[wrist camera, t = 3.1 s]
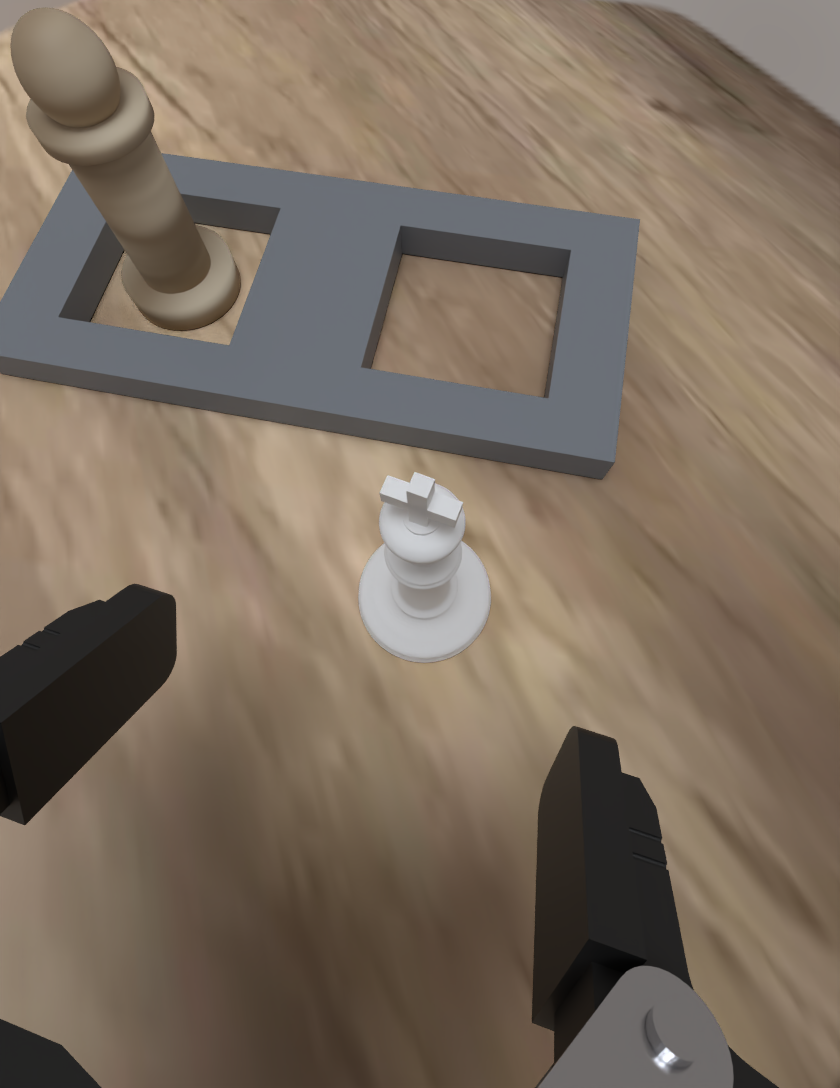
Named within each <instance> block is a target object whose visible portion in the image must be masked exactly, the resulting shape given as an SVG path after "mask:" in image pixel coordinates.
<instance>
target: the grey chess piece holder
mask: <svg viewBox="0 0 840 1088" xmlns="http://www.w3.org/2000/svg"><path fill="white" fill-rule="evenodd" d="M161 154H162V156H163V158H164V160H165V162H166V165H167V167H168V169H169V171H170V173H171V175H172V177H173V179H174V181H175V184H176V186H177V188H178V190H179V192H180V194H181V196H182V198H183V200H184V202H185V205H186V207H187V209H188V211H189V213H190V215H191V217H192V219H193V221H194V223H200V224H207V225H214V226H220V227H227V228H234V229H241V230H247V231H254V232H261V233H268V234H271V235H270V238H269V241H268V243H267V246H266V249H265V252H264V254H263V257H262V260H261V262H260V265H259V268H258V270H257V273H256V276H255V278H254V281H253V284H252V286H251V289H250V292H249V294H248V297H247V300H246V302H245V305H244V308H243V310H242V313H241V316H240V318H239V321H238V324H237V326H236V329H235V332H234V334H233V337H232V340H231V342H230V345H223V344H217V343H211V342H205V341H199V340H193V339H187V338H181V337H175V336H169V335H163V334H157V333H151V332H145V331H139V330H133V329H127V328H120V327H114V326H108V325H102V324H96V323H90V320H91V318H92V316H93V314H94V312H95V309H96V307H97V305H98V303H99V301H100V299H101V297H102V295H103V293H104V291H105V289H106V286H107V284H108V282H109V280H110V278H111V276H112V274H113V272H114V270H115V268H116V265H117V263H118V261H119V259H120V257H121V255H122V253H123V251H124V248H123V247H122V245H121V244H120V242H119V241H118V239H117V238H116V236H115V234H114V233H113V231H112V230H111V228H110V227H109V225H108V224H107V222H106V221H105V219H104V218H103V216H102V215H101V213H100V211H99V210H98V208H97V207H96V205H95V204H94V202H93V201H92V199H91V198H90V196H89V195H88V193H87V191H86V190H85V188H84V187H83V185H82V184H81V182H80V181H79V179H78V178H77V176H76V175H75V173H74V171H73V170H72V172H71V173H70V175H69V177H68V179H67V181H66V183H65V184H64V186H63V188H62V190H61V192H60V194H59V195H58V197H57V199H56V201H55V203H54V205H53V206H52V208H51V210H50V212H49V214H48V216H47V217H46V219H45V221H44V223H43V225H42V226H41V228H40V230H39V232H38V234H37V236H36V237H35V239H34V241H33V243H32V245H31V247H30V248H29V250H28V252H27V254H26V256H25V258H24V259H23V261H22V263H21V265H20V267H19V269H18V270H17V272H16V274H15V276H14V278H13V280H12V281H11V283H10V285H9V287H8V289H7V291H6V292H5V294H4V296H3V298H2V300H1V302H0V373H1V374H6V375H12V376H18V377H23V378H29V379H35V380H40V381H46V382H52V383H57V384H63V385H69V386H74V387H80V388H86V389H91V390H97V391H103V392H108V393H114V394H120V395H125V396H131V397H137V398H142V399H148V400H154V401H159V402H165V403H171V404H177V405H182V406H188V407H194V408H199V409H205V410H211V411H216V412H222V413H228V414H233V415H239V416H245V417H250V418H256V419H262V420H267V421H273V422H279V423H284V424H290V425H296V426H301V427H307V428H313V429H318V430H324V431H330V432H335V433H341V434H347V435H352V436H358V437H364V438H370V439H375V440H381V441H387V442H392V443H398V444H404V445H409V446H415V447H421V448H426V449H432V450H438V451H443V452H449V453H455V454H460V455H466V456H472V457H477V458H483V459H489V460H494V461H500V462H506V463H511V464H517V465H523V466H528V467H534V468H540V469H546V470H551V471H557V472H563V473H568V474H574V475H580V476H585V477H591V478H597V479H603V478H604V476H605V475H606V474H607V472H608V471H609V470H610V468H611V467H612V465H613V464H614V463H615V455H616V445H617V435H618V426H619V416H620V406H621V397H622V387H623V377H624V368H625V358H626V348H627V339H628V329H629V319H630V310H631V300H632V290H633V281H634V271H635V261H636V252H637V242H638V232H639V223H640V219H632V218H625V217H618V216H611V215H604V214H596V213H589V212H582V211H575V210H567V209H560V208H553V207H546V206H539V205H531V204H524V203H517V202H510V201H502V200H495V199H488V198H481V197H474V196H466V195H459V194H452V193H445V192H437V191H430V190H423V189H416V188H409V187H401V186H394V185H387V184H380V183H372V182H365V181H358V180H351V179H344V178H336V177H329V176H322V175H315V174H307V173H300V172H293V171H286V170H278V169H271V168H264V167H257V166H250V165H242V164H235V163H228V162H221V161H213V160H206V159H199V158H192V157H185V156H177V155H170V154H163V153H161ZM402 253H403V254H409V255H416V256H423V257H430V258H436V259H443V260H450V261H457V262H463V263H470V264H477V265H484V266H490V267H497V268H504V269H511V270H517V271H524V272H531V273H538V274H544V275H551V276H558V277H563V279H562V285H561V292H560V298H559V305H558V311H557V318H556V324H555V331H554V337H553V344H552V350H551V357H550V363H549V370H548V376H547V382H546V389H545V395H544V398H542V397H536V396H530V395H524V394H518V393H512V392H506V391H500V390H494V389H488V388H482V387H476V386H470V385H464V384H458V383H452V382H446V381H440V380H434V379H428V378H422V377H416V376H410V375H404V374H398V373H392V372H386V371H380V370H374V369H371V366H372V362H373V358H374V355H375V351H376V347H377V344H378V340H379V336H380V333H381V329H382V325H383V322H384V318H385V314H386V311H387V307H388V304H389V300H390V296H391V293H392V289H393V285H394V282H395V278H396V274H397V271H398V267H399V263H400V260H401V256H402Z"/></svg>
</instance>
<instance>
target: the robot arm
mask: <svg viewBox="0 0 840 1088" xmlns="http://www.w3.org/2000/svg"><path fill="white" fill-rule="evenodd" d="M176 654H177V644H176V602H175V599H174V597H173V596H172V595H170V594H167V593H164V592H161V591H158V590H154V589H151V588H148V587H145V586H142V585H139V584H132V585H129V586H127V587H126V588H124V589H123V590H121V591H120V592H119V593H117V594H116V595H114V596H113V597H112V598H110V599H109V600H107V601H106V602H104V601H101V600H98V601H95V602H92V603H89V604H87V605H84V606H81V607H78V608H76V609H73V610H70V611H68V612H67V613H65V614H64V615H62V616H61V617H59V618H58V619H56V620H55V621H53V622H52V623H50V624H49V625H47V626H46V627H44V630H43V631H42V632H41V631H38V632H37V633H35V634H34V635H32V636H31V637H29V638H28V639H26V640H25V641H24V643H23V644H22V645H21V646H20V645H17V646H16V647H14V648H13V649H11V650H10V651H8V652H7V653H5V654H4V655H2V656H1V657H0V816H2V817H4V818H7V819H10V820H12V821H15V822H17V823H20V824H23V825H26V824H27V823H28V822H29V821H30V820H31V819H32V818H33V817H34V816H35V815H36V814H37V813H38V812H39V811H40V810H41V808H42V807H43V806H44V805H45V804H46V803H47V802H48V801H49V800H50V799H51V798H52V797H53V796H54V795H55V794H56V793H57V792H58V791H59V790H60V789H61V788H62V787H63V786H64V785H65V784H66V783H67V782H68V781H69V780H70V779H71V778H72V777H73V776H74V775H75V774H76V773H77V772H78V771H79V770H80V769H81V768H82V767H83V766H84V765H85V764H86V763H87V762H88V761H89V760H90V759H91V758H92V756H93V755H94V754H95V753H96V752H97V751H98V750H99V749H100V748H101V747H102V746H103V745H104V744H105V743H106V742H107V741H108V740H109V739H110V738H111V737H112V736H113V735H114V734H115V733H116V732H117V731H118V730H119V729H120V728H121V727H122V726H123V725H124V724H125V723H126V722H127V721H128V720H129V719H130V718H131V717H132V716H133V715H134V714H135V713H136V712H137V711H138V710H139V709H140V708H141V707H142V706H143V704H144V703H145V702H146V701H147V700H148V699H149V698H150V697H151V696H152V695H153V694H154V693H155V692H156V691H157V690H158V689H159V688H160V687H161V686H162V685H163V684H164V683H165V681H166V680H167V679H168V677H169V675H170V674H171V672H172V669H173V667H174V664H175V661H176ZM661 839H662V835H661V830H660V825H659V820H658V814H657V809H656V807H655V805H654V803H653V801H652V800H651V798H650V796H649V794H648V793H647V791H646V789H645V787H644V786H643V784H642V782H641V780H640V779H639V778H637V777H634V776H631V775H628V774H625V773H622V772H621V765H620V758H619V751H618V745H617V742H616V740H615V739H614V738H611V737H607V736H604V735H601V734H598V733H595V732H592V731H589V730H586V729H583V728H579V727H576V726H573V727H572V728H571V729H570V730H569V732H568V734H567V736H566V738H565V740H564V742H563V744H562V747H561V749H560V751H559V753H558V755H557V757H556V759H555V761H554V763H553V765H552V767H551V770H550V772H549V774H548V776H547V778H546V780H545V783H544V786H543V789H542V793H541V798H540V803H539V811H538V837H537V870H536V903H535V935H534V968H533V1000H532V1023H534V1024H537V1025H539V1026H542V1027H544V1028H547V1029H550V1030H552V1031H554V1063H553V1065H552V1066H551V1067H550V1068H549V1070H548V1071H547V1072H546V1074H545V1075H544V1076H543V1078H542V1079H541V1080H540V1082H539V1083H538V1084H537V1086H536V1087H535V1088H779V1087H777V1086H776V1085H775V1084H773V1083H772V1082H771V1081H769V1080H768V1079H767V1078H765V1077H764V1076H763V1075H761V1074H760V1073H759V1072H757V1071H756V1070H755V1069H753V1068H752V1067H751V1066H750V1065H748V1064H747V1063H746V1062H745V1061H744V1060H742V1059H741V1058H740V1057H739V1056H738V1055H737V1054H736V1053H735V1052H734V1051H733V1050H732V1049H731V1048H730V1047H729V1046H728V1045H727V1042H726V1039H725V1037H724V1035H723V1033H722V1030H721V1028H720V1026H719V1024H718V1023H717V1021H716V1019H715V1017H714V1016H713V1014H712V1013H711V1011H710V1010H709V1008H708V1007H707V1005H706V1004H705V1003H704V1002H703V1000H702V999H701V998H700V997H699V996H698V995H697V993H696V992H694V990H693V987H692V984H691V981H690V977H689V973H688V968H687V963H686V958H685V953H684V948H683V943H682V938H681V933H680V927H679V922H678V917H677V912H676V907H675V902H674V897H673V891H672V886H671V881H670V876H669V871H668V870H666V865H667V861H666V856H665V850H664V845H663V844H661ZM0 1088H101V1087H100V1086H99V1085H98V1084H97V1082H96V1081H95V1080H94V1079H93V1078H92V1077H91V1076H90V1075H89V1074H88V1073H87V1072H86V1071H85V1070H84V1069H83V1068H82V1066H81V1065H80V1064H79V1063H78V1062H77V1061H76V1060H75V1059H74V1058H73V1057H72V1056H71V1055H70V1054H69V1053H68V1051H67V1050H66V1049H65V1048H64V1047H63V1046H62V1045H60V1044H58V1043H55V1042H53V1041H51V1040H48V1039H46V1038H44V1037H41V1036H39V1035H37V1034H34V1033H32V1032H30V1031H27V1030H25V1029H23V1028H20V1027H18V1026H16V1025H13V1024H11V1023H9V1022H6V1021H4V1020H2V1019H0Z"/></svg>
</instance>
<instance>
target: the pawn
mask: <svg viewBox="0 0 840 1088" xmlns="http://www.w3.org/2000/svg"><path fill="white" fill-rule="evenodd" d="M11 57H12V62H13V66H14V69H15V72H16V74H17V77H18V79H19V81H20V83H21V85H22V87H23V88H24V90H25V91H26V93H27V94H28V96H29V97H30V98H31V99H30V101H29V103H28V106H27V112H26V118H27V122H28V125H29V127H30V129H31V130H32V132H33V133H34V135H35V136H36V138H37V139H38V141H39V142H40V144H41V145H42V147H43V148H44V149H45V151H46V152H47V153H48V154H49V155H50V156H52V157H53V158H55V159H57V160H59V161H61V162H64V163H67V164H69V165H70V167H71V168H72V170H73V171H74V173H75V175H76V176H77V178H78V179H79V181H80V182H81V184H82V185H83V187H84V188H85V190H86V191H87V193H88V195H89V196H90V198H91V199H92V201H93V202H94V204H95V205H96V207H97V208H98V210H99V211H100V213H101V215H102V216H103V218H104V219H105V221H106V222H107V224H108V225H109V227H110V228H111V230H112V231H113V233H114V234H115V236H116V238H117V239H118V241H119V242H120V244H121V245H122V247H123V248H124V250H125V251H126V253H127V256H126V258H125V260H124V263H123V266H122V274H121V276H122V282H123V286H124V288H125V290H126V292H127V293H128V294H129V296H130V297H131V299H132V300H133V302H134V303H135V304H136V306H137V307H138V309H139V310H140V311H141V313H142V314H143V315H144V316H145V317H146V318H147V319H148V320H149V321H150V322H152V323H153V324H155V325H157V326H159V327H162V328H165V329H170V330H191V329H196V328H200V327H203V326H206V325H208V324H210V323H212V322H214V321H216V320H217V319H219V318H220V317H221V316H223V315H224V314H225V313H226V312H227V311H228V310H229V309H230V308H231V307H232V305H233V304H234V302H235V301H236V298H237V296H238V294H239V290H240V274H239V271H238V269H237V266H236V264H235V262H234V259H233V257H232V255H231V252H230V250H229V248H228V246H227V244H226V242H225V241H224V240H223V239H222V238H221V237H220V236H219V235H218V234H217V233H215V232H214V231H212V230H210V229H208V228H205V227H202V226H198V225H195V224H194V221H193V219H192V217H191V215H190V213H189V211H188V209H187V207H186V205H185V202H184V200H183V198H182V196H181V194H180V192H179V190H178V188H177V186H176V184H175V181H174V179H173V177H172V175H171V173H170V171H169V169H168V167H167V165H166V162H165V160H164V158H163V156H162V154H161V152H160V150H159V148H158V146H157V143H156V141H155V139H154V137H153V135H152V133H151V129H152V127H153V123H154V110H153V108H152V105H151V103H150V101H149V98H148V96H147V94H146V92H145V90H144V87H143V85H142V84H141V82H140V81H139V79H138V78H137V77H136V76H134V75H133V74H132V73H130V72H128V71H127V70H124V69H122V68H119V67H116V66H115V63H114V61H113V58H112V56H111V55H110V53H109V51H108V49H107V48H106V46H105V45H104V43H103V42H102V40H101V39H100V38H99V37H98V36H97V34H96V33H95V32H94V31H93V30H92V29H91V28H90V27H89V26H87V25H86V24H85V23H84V22H82V21H81V20H80V19H78V18H76V17H75V16H73V15H71V14H69V13H67V12H64V11H62V10H59V9H54V8H37V9H33V10H31V11H29V12H27V13H26V14H24V15H23V16H22V17H21V18H20V19H19V20H18V22H17V23H16V25H15V27H14V29H13V33H12V37H11Z"/></svg>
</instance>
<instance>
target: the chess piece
mask: <svg viewBox="0 0 840 1088" xmlns="http://www.w3.org/2000/svg"><path fill="white" fill-rule="evenodd" d="M380 497H381V501H383V502H385V503H384V505H383V507H382V509H381V512H380V517H379V529H380V533H381V536H382V539H383V541H384V544H383V545H381V546H380V547H379V548H378V549H377V550H376V551H375V552H374V553H373V555H372V556H371V557H370V559H369V560H368V562H367V564H366V566H365V568H364V570H363V573H362V575H361V579H360V584H359V594H358V601H359V609H360V614H361V617H362V620H363V623H364V625H365V627H366V629H367V630H368V632H369V634H370V635H371V636H372V638H373V639H374V640H375V641H376V642H377V643H378V644H379V645H380V646H381V647H382V648H383V649H385V650H386V651H388V652H389V653H391V654H393V655H395V656H397V657H399V658H402V659H405V660H408V661H413V662H422V663H427V662H436V661H441V660H445V659H448V658H450V657H453V656H455V655H457V654H458V653H460V652H462V651H463V650H464V649H466V648H467V647H468V646H469V645H470V644H471V643H472V642H473V641H474V640H475V639H476V638H477V637H478V635H479V634H480V633H481V631H482V629H483V627H484V625H485V623H486V621H487V618H488V615H489V611H490V605H491V590H490V583H489V579H488V575H487V572H486V570H485V567H484V565H483V563H482V562H481V560H480V558H479V557H478V556H477V554H476V553H475V552H474V551H473V550H472V549H471V548H470V547H469V546H468V545H467V544H465V543H464V542H463V541H461V540H462V537H463V535H464V531H465V514H464V510H463V508H462V506H463V502H461V501H459V500H458V499H457V497H456V496H455V495H454V494H453V493H452V492H451V491H449V490H448V489H446V488H445V487H443V486H441V485H438V484H436V483H435V479H433V478H430V477H427V476H424V475H422V474H419V473H416V472H414V474H413V477H412V479H411V481H410V483H408V482H405V481H403V480H400V479H397V478H394V477H391V476H389V475H387V478H386V480H385V482H384V484H383V486H382V489H381V491H380Z"/></svg>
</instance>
